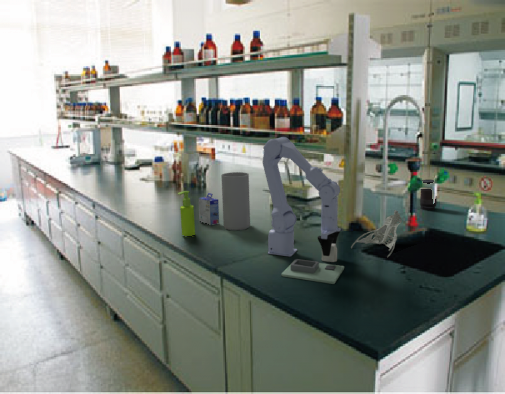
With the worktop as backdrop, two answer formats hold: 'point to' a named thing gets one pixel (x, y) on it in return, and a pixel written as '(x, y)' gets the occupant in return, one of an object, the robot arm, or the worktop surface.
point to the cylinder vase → (235, 200)
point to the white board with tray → (313, 271)
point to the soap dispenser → (187, 215)
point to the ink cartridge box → (208, 210)
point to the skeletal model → (384, 232)
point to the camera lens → (427, 197)
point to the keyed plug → (331, 254)
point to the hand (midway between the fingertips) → (329, 252)
